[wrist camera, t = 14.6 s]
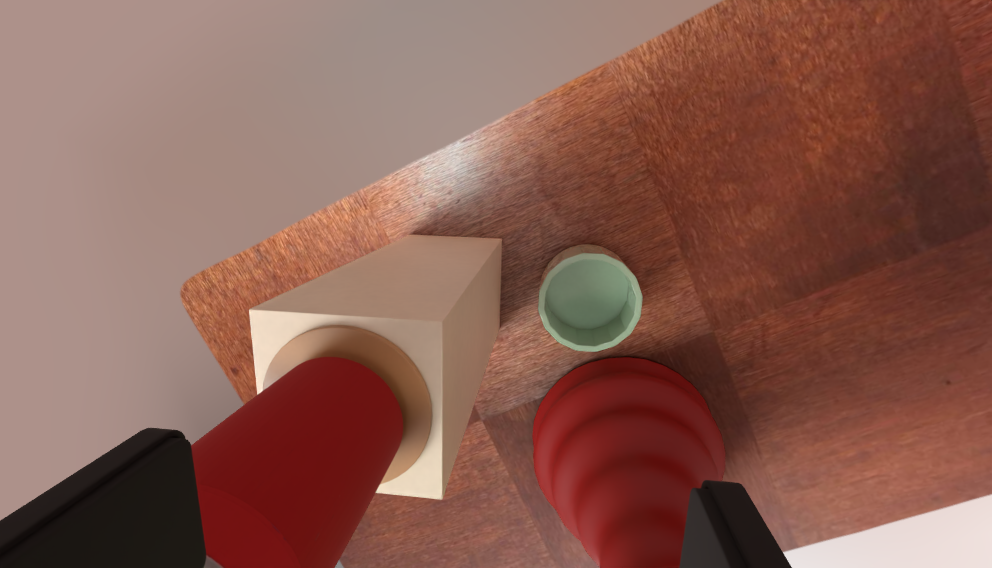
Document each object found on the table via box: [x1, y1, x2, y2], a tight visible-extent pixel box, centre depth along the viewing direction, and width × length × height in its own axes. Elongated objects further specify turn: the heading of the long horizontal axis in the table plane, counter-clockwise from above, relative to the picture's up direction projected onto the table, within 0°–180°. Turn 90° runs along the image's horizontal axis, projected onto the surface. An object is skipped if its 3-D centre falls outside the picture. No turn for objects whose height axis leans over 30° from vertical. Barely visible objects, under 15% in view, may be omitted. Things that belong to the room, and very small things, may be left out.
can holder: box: [538, 244, 643, 352], centre depth 48 cm, size 10×10×6 cm
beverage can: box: [191, 357, 403, 568], centre depth 19 cm, size 7×7×12 cm
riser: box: [249, 235, 502, 499], centre depth 38 cm, size 10×10×28 cm
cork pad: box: [262, 325, 433, 484], centre depth 25 cm, size 9×9×1 cm
